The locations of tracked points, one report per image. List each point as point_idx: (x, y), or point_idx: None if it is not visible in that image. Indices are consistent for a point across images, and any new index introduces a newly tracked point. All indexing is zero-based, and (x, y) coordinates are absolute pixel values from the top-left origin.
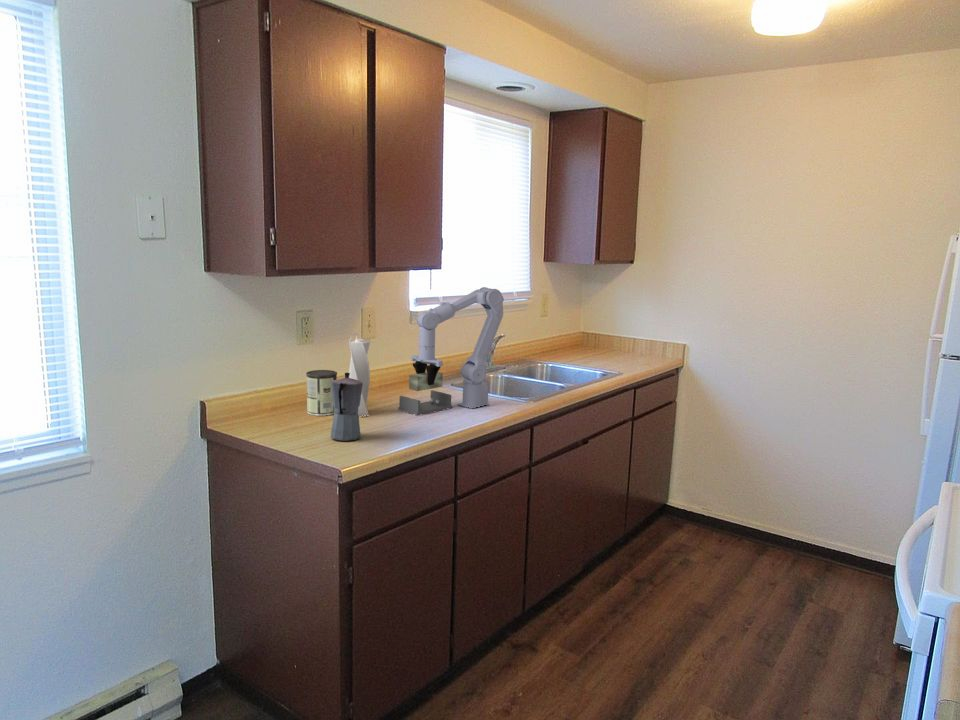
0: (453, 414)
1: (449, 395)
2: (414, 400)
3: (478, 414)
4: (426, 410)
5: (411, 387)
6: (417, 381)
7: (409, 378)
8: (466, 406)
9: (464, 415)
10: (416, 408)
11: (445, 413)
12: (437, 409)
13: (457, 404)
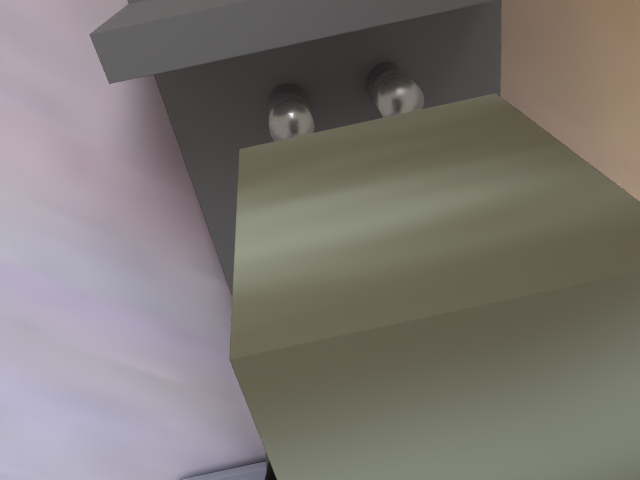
0: (63, 325)
1: (266, 471)
2: (183, 11)
3: (11, 459)
4: (189, 147)
5: (436, 125)
6: (239, 260)
7: (617, 198)
8: (232, 472)
9: (4, 378)
10: (150, 3)
11: (122, 286)
12: (225, 272)
13: None
